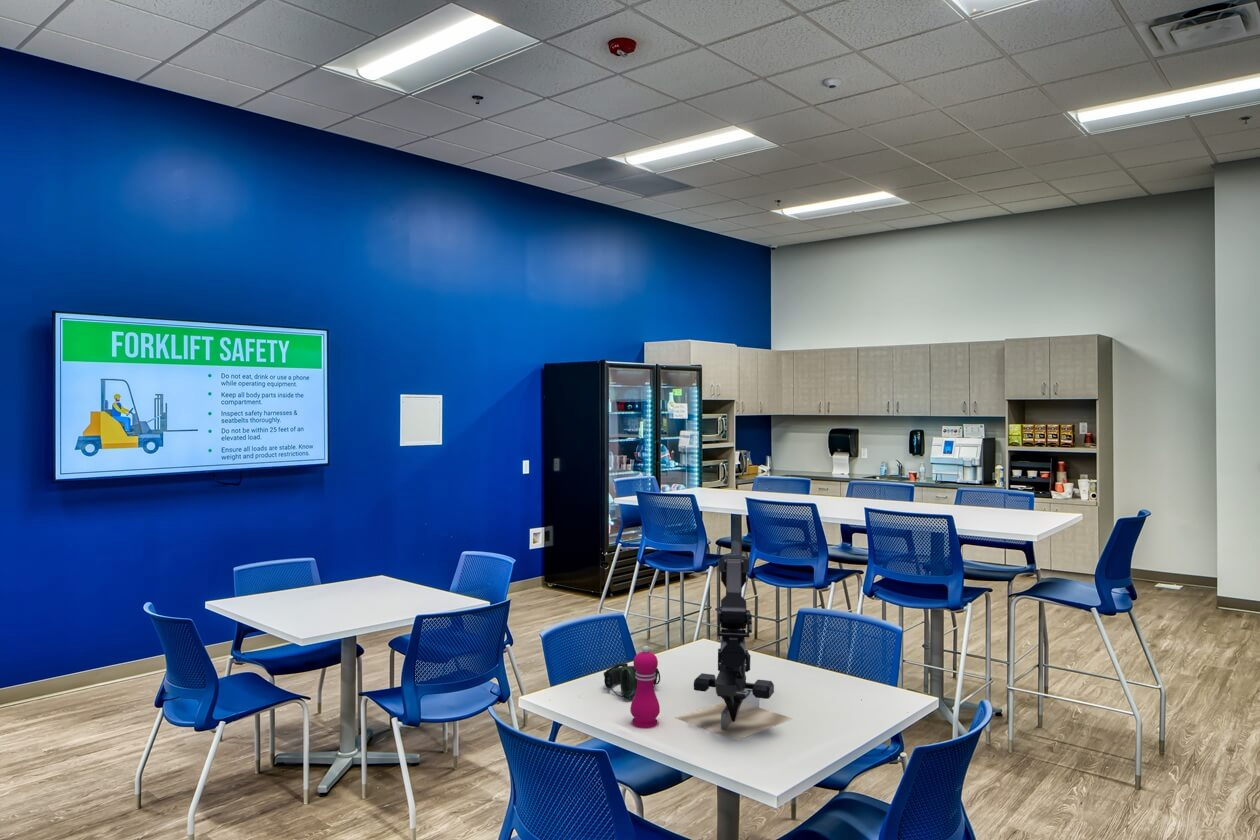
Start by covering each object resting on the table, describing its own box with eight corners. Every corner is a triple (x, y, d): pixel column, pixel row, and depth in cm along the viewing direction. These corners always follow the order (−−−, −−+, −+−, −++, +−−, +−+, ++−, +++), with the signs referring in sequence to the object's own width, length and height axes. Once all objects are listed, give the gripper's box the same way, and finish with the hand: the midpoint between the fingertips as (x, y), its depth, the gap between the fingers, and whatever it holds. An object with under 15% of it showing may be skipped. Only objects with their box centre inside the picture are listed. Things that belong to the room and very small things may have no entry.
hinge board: (674, 721, 205) (674, 717, 205) (731, 702, 220) (731, 698, 220) (736, 744, 191) (736, 740, 191) (793, 722, 206) (793, 718, 206)
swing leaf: (728, 713, 208) (729, 698, 208) (737, 714, 207) (737, 699, 207) (718, 728, 197) (719, 713, 197) (727, 729, 197) (728, 714, 197)
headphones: (677, 678, 222) (652, 670, 241) (643, 645, 221) (620, 639, 239) (646, 719, 218) (623, 706, 236) (611, 685, 216) (590, 675, 235)
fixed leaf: (732, 718, 205) (733, 700, 205) (725, 716, 207) (725, 698, 207) (761, 708, 213) (761, 691, 213) (753, 706, 214) (754, 689, 214)
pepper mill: (642, 720, 206) (643, 640, 206) (665, 727, 202) (666, 645, 202) (624, 728, 201) (625, 646, 201) (647, 735, 196) (648, 651, 196)
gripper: (686, 661, 195) (686, 727, 195) (763, 669, 188) (764, 737, 188) (700, 649, 205) (700, 712, 205) (774, 657, 198) (774, 722, 198)
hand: (733, 721), depth 199 cm, fingers closed
